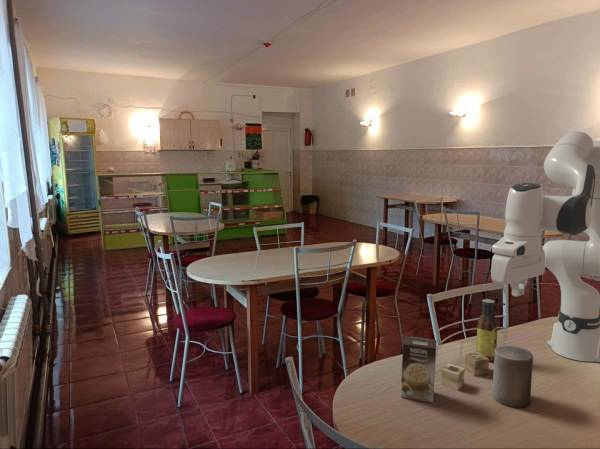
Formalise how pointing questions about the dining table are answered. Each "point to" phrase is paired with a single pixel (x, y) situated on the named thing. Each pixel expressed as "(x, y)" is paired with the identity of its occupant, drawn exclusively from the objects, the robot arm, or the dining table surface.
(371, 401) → the dining table surface
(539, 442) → the dining table surface
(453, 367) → the marked block beech
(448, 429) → the dining table surface
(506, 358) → the pillar candle
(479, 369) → the wooden cube
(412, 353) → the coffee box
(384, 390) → the dining table surface
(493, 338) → the sauce bottle
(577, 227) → the robot arm
